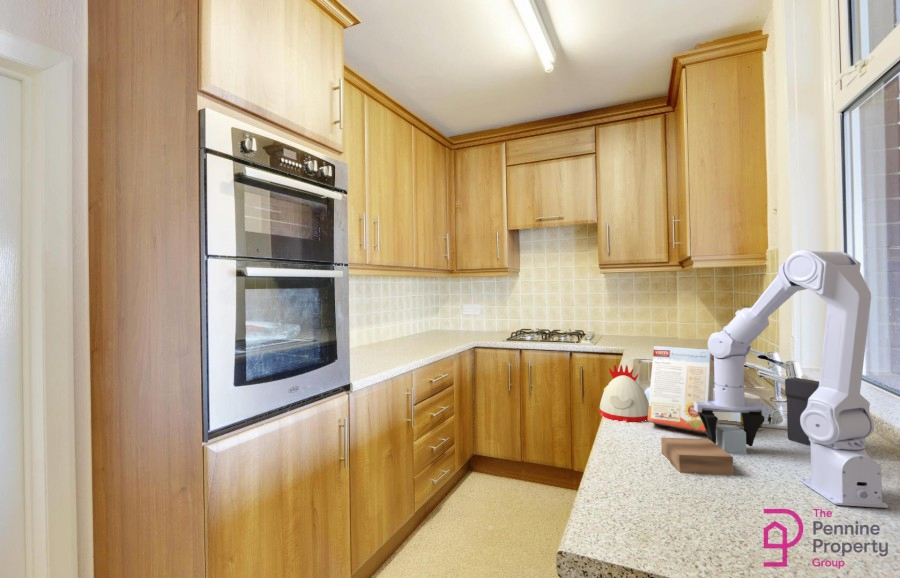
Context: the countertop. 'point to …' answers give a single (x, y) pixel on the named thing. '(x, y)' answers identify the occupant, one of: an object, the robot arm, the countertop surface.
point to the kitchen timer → (624, 398)
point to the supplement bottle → (751, 400)
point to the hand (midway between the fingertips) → (730, 443)
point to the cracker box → (680, 386)
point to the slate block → (731, 439)
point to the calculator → (798, 406)
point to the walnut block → (697, 456)
